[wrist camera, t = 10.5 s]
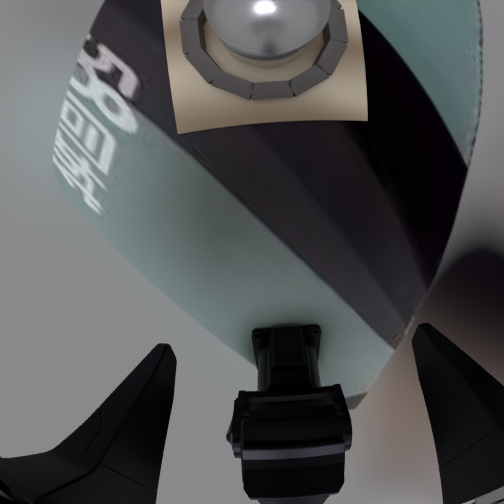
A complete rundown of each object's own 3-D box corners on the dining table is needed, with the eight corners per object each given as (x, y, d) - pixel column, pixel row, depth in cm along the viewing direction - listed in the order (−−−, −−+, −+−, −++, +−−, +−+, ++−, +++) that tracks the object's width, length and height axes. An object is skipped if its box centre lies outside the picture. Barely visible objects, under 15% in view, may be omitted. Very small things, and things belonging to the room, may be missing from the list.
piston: (309, 67, 13) (336, 53, 8) (225, 71, 14) (208, 57, 9) (302, -2, 11) (322, -42, 6) (218, 2, 11) (200, -37, 6)
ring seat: (364, 119, 15) (378, 124, 13) (180, 132, 16) (169, 138, 14) (344, -35, 9) (354, -48, 7) (162, -21, 10) (149, -33, 8)
